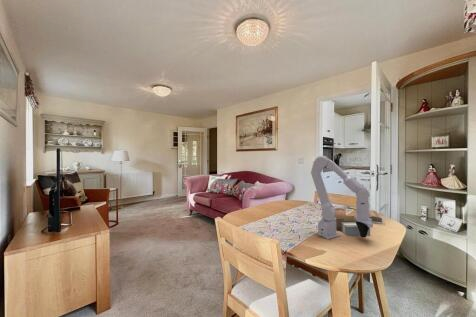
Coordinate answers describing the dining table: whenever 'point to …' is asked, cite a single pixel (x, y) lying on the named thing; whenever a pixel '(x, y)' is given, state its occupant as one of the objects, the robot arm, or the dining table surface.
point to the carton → (351, 229)
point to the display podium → (343, 220)
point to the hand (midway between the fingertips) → (363, 236)
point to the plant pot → (340, 212)
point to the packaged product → (375, 218)
